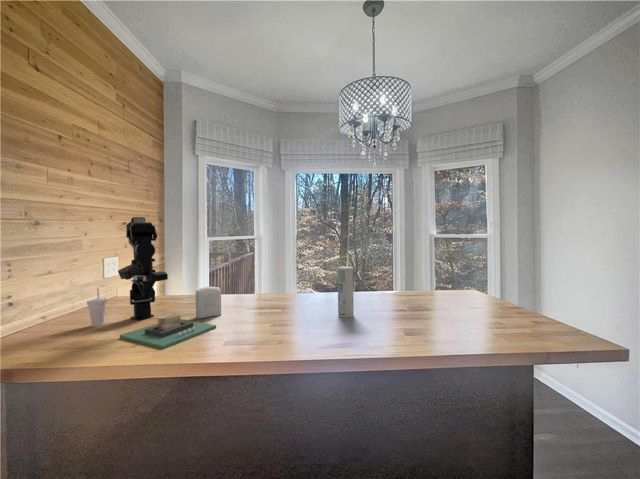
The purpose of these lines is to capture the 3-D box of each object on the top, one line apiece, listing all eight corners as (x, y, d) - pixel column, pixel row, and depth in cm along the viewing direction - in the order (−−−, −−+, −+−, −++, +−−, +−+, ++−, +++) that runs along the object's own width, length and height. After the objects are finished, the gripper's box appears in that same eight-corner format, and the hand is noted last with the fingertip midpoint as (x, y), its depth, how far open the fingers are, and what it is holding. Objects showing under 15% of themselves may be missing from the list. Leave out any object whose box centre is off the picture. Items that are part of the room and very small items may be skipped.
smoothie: (111, 323, 125) (110, 288, 124) (94, 328, 119) (92, 291, 119) (101, 321, 128) (99, 286, 127) (83, 326, 122) (82, 289, 121)
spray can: (356, 316, 131) (356, 267, 130) (342, 318, 129) (341, 268, 128) (349, 312, 137) (349, 265, 136) (335, 314, 135) (335, 266, 134)
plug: (158, 331, 112) (157, 317, 112) (175, 326, 118) (174, 312, 118) (165, 333, 110) (165, 319, 110) (182, 327, 116) (182, 314, 116)
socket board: (119, 338, 109) (119, 330, 109) (175, 320, 129) (175, 314, 128) (163, 349, 99) (162, 341, 99) (216, 328, 119) (216, 321, 118)
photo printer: (219, 313, 139) (219, 284, 138) (222, 315, 135) (222, 286, 134) (194, 317, 133) (193, 287, 132) (197, 319, 129) (196, 289, 129)
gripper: (105, 257, 116) (107, 300, 116) (138, 259, 107) (140, 306, 108) (135, 254, 125) (137, 294, 126) (168, 256, 117) (169, 299, 118)
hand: (145, 298), depth 119 cm, fingers closed
